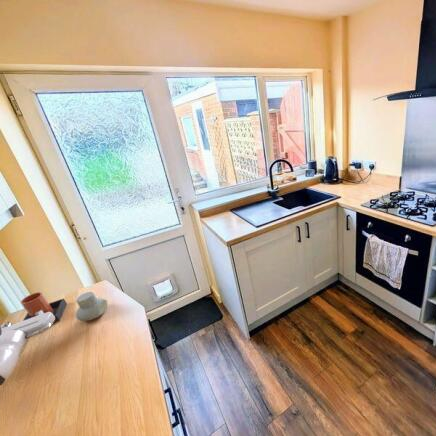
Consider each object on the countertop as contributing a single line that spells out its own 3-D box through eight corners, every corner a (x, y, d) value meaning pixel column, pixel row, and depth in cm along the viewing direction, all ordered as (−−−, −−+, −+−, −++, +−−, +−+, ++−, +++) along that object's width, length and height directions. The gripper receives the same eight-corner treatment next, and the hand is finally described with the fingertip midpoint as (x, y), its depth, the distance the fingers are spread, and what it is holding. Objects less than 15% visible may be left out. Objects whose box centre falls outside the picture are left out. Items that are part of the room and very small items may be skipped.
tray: (21, 334, 98) (17, 329, 97) (32, 315, 108) (29, 310, 107) (59, 320, 103) (56, 315, 102) (67, 303, 113) (63, 298, 112)
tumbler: (33, 325, 102) (17, 305, 97) (38, 315, 107) (24, 296, 102) (52, 318, 104) (38, 299, 99) (56, 309, 109) (43, 290, 105)
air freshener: (100, 321, 100) (89, 303, 96) (77, 326, 99) (65, 308, 95) (111, 303, 110) (101, 285, 106) (91, 307, 109) (80, 290, 105)
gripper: (43, 323, 85) (54, 299, 96) (-41, 353, 77) (-18, 324, 88) (52, 335, 88) (62, 311, 99) (-27, 366, 80) (-7, 336, 91)
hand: (24, 317), depth 93 cm, fingers open, 8 cm apart
